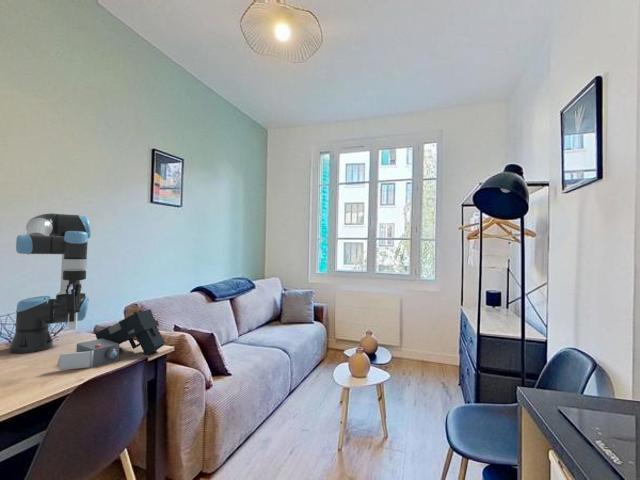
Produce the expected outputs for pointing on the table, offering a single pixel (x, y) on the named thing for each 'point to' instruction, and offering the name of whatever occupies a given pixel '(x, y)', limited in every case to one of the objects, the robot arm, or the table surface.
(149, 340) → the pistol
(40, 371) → the table surface
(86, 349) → the camera body
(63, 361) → the door
